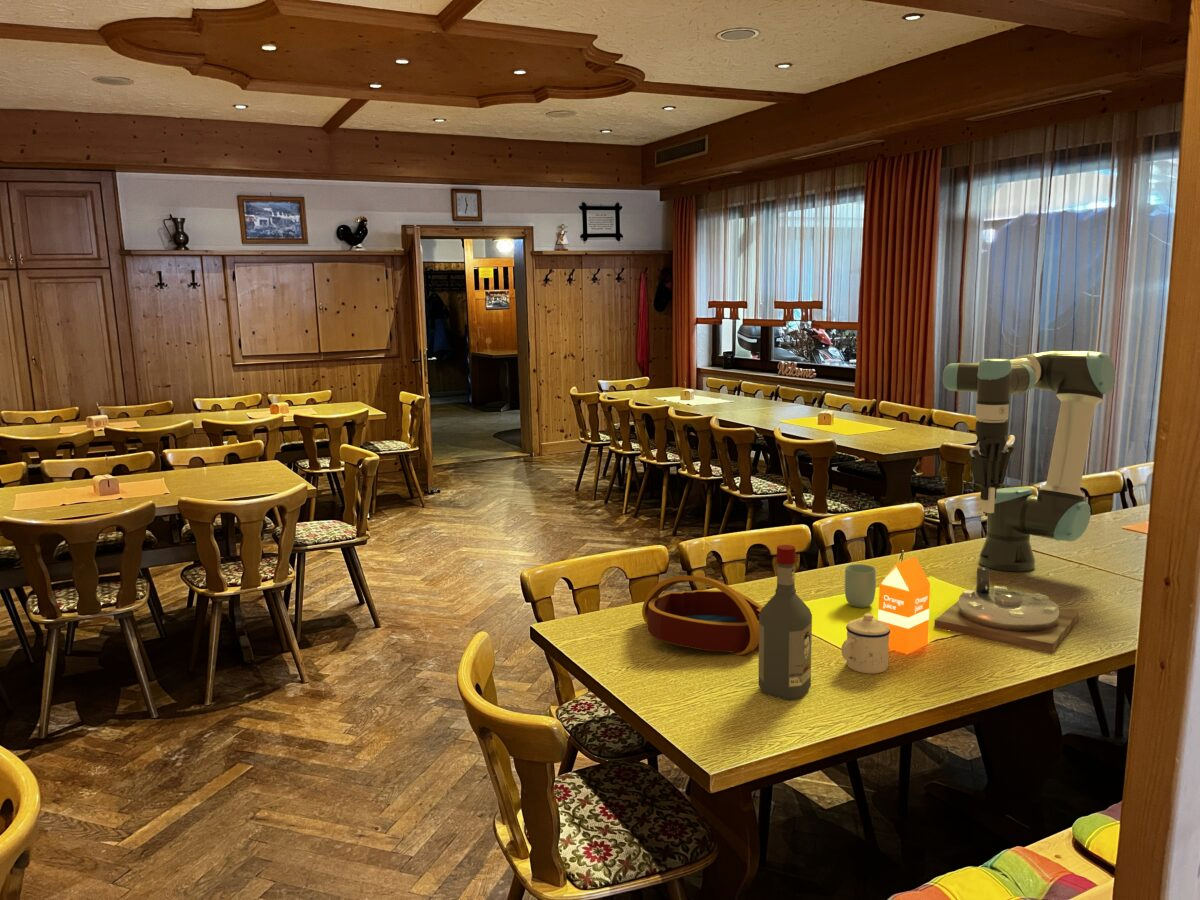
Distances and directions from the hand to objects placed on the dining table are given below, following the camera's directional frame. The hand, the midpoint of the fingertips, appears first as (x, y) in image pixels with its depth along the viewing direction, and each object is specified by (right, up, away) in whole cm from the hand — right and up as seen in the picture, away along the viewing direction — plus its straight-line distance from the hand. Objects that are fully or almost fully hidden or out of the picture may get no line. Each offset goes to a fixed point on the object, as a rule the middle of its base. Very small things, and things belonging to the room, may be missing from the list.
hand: (987, 511), depth 222 cm
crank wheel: (0, -24, -11) cm, 27 cm away
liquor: (-62, -33, -45) cm, 83 cm away
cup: (-31, -25, +5) cm, 40 cm away
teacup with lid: (-43, -31, -35) cm, 63 cm away
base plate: (0, -26, -11) cm, 29 cm away
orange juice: (-30, -29, -23) cm, 47 cm away
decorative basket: (-75, -29, -15) cm, 82 cm away
